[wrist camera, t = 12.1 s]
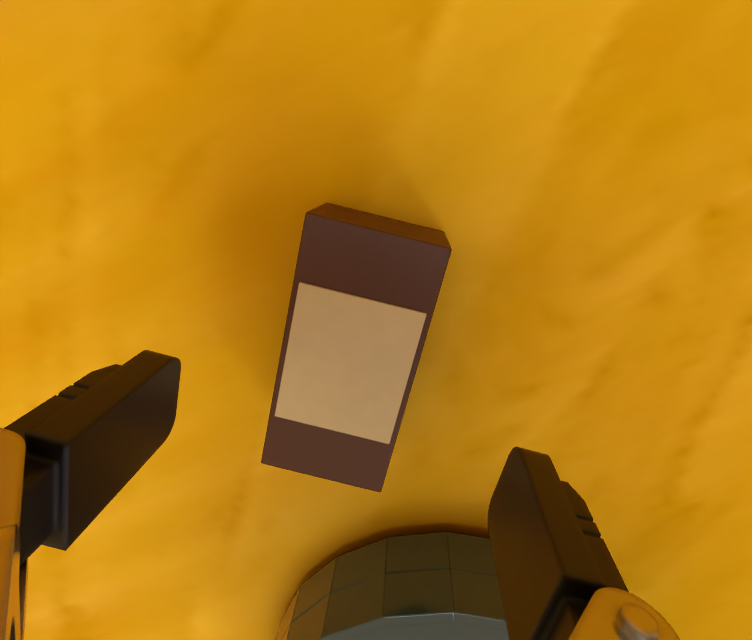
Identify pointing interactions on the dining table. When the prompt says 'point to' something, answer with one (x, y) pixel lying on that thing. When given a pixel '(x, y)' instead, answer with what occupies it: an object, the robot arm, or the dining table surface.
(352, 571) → the snack bowl
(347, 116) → the dining table surface
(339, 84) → the dining table surface
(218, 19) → the dining table surface
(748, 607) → the dining table surface
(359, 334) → the oat bar
